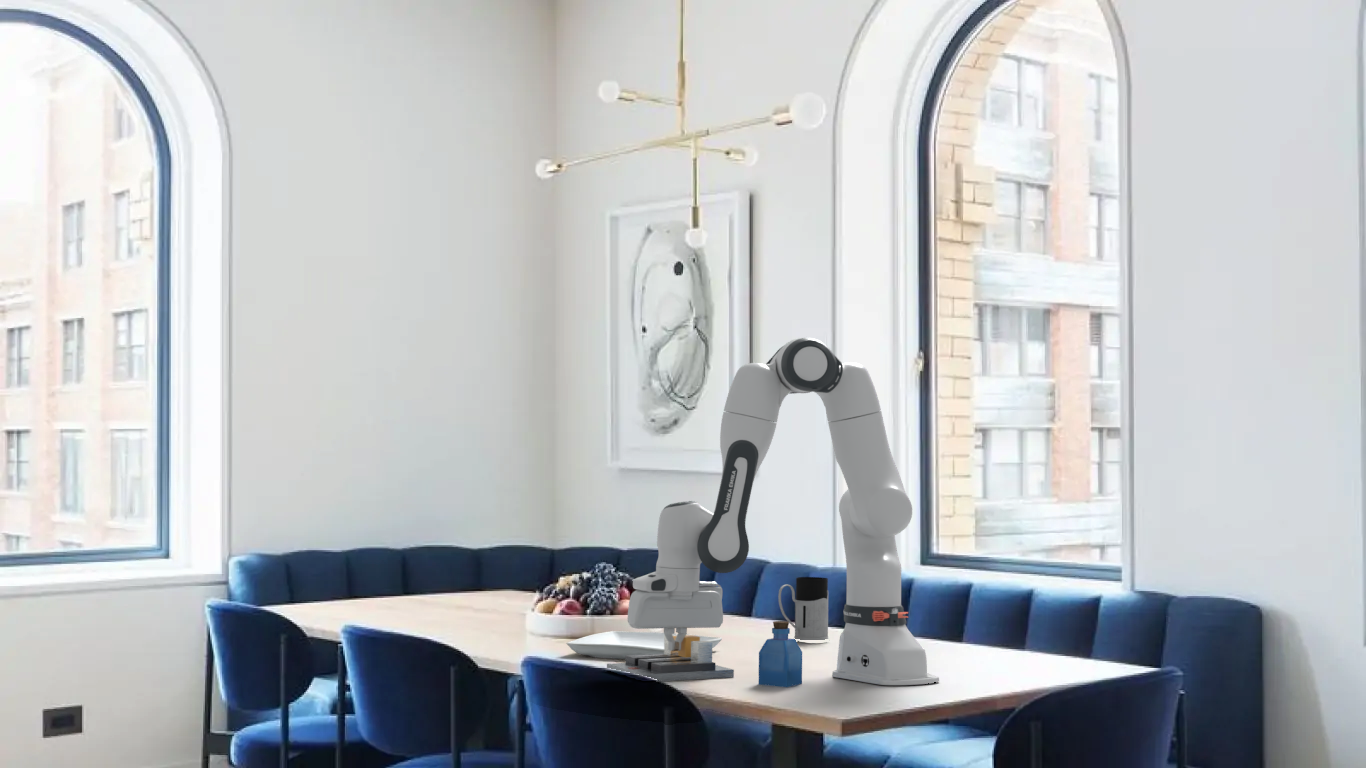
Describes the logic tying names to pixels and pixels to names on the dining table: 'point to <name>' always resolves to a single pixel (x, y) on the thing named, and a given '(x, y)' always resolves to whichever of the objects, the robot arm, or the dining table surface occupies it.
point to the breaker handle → (687, 645)
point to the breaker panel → (675, 675)
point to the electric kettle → (809, 608)
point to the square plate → (625, 644)
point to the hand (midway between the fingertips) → (674, 650)
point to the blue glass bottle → (780, 659)
